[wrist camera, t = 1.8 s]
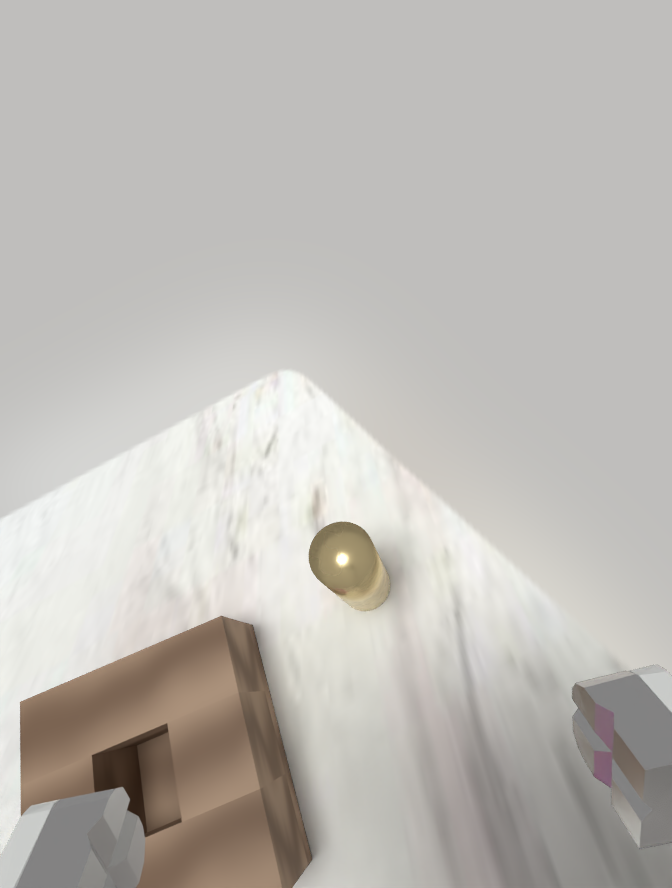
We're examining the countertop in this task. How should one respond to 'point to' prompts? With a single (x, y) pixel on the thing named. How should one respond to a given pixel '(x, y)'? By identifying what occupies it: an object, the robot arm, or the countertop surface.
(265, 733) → the hole block
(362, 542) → the pin
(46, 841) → the robot arm
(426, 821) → the countertop surface
